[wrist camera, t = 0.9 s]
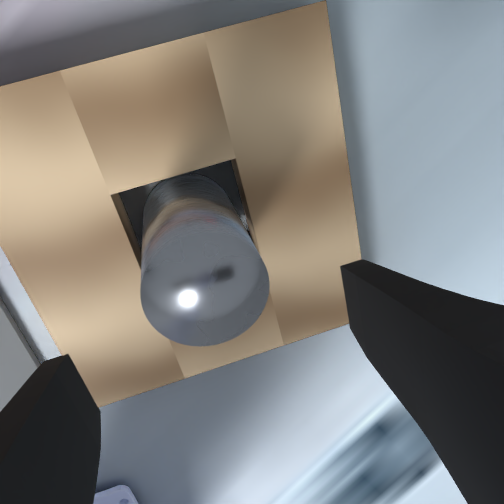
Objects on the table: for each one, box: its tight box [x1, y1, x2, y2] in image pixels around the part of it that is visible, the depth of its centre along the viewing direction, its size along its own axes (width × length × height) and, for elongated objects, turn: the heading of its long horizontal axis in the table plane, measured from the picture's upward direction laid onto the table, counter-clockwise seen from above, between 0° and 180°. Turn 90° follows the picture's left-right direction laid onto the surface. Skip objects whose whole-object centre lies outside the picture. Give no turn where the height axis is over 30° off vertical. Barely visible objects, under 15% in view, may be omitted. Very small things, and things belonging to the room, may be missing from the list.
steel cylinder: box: [140, 174, 270, 346], centre depth 17 cm, size 4×4×7 cm
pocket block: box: [0, 0, 361, 408], centre depth 19 cm, size 14×14×2 cm
